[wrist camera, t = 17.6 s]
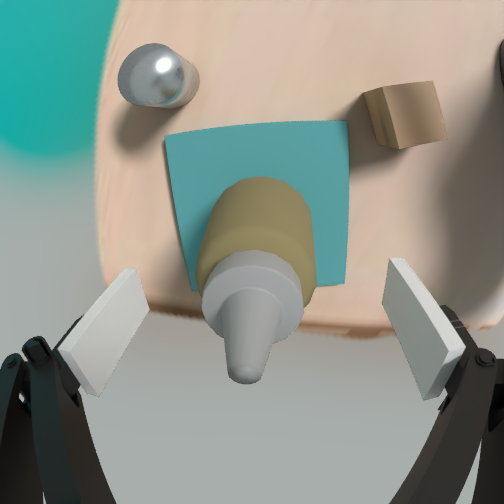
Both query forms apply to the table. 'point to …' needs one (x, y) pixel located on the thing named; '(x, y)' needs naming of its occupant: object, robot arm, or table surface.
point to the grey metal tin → (157, 77)
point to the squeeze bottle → (256, 270)
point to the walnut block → (405, 114)
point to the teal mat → (269, 165)
